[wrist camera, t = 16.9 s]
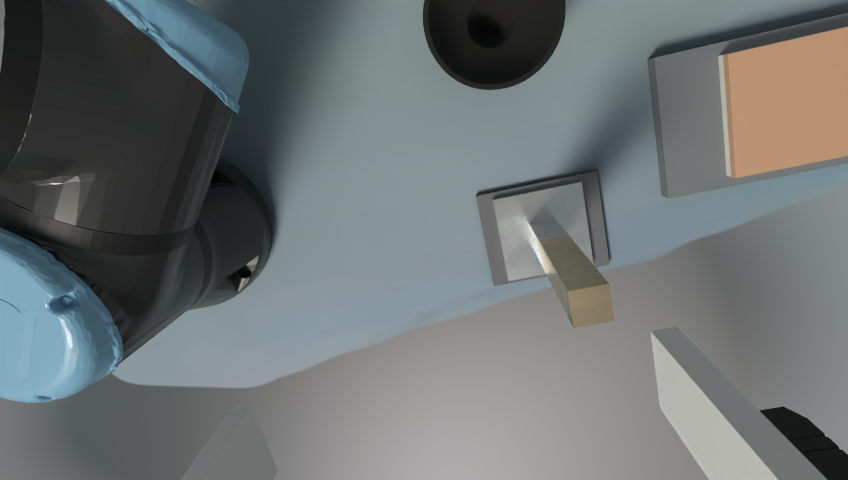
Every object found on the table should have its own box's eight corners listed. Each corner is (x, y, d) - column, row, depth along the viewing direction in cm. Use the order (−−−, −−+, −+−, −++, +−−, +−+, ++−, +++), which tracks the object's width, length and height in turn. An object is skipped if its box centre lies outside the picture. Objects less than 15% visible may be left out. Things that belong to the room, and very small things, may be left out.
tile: (735, 178, 41) (865, 152, 40) (727, 54, 39) (865, 22, 38) (726, 175, 43) (851, 150, 42) (718, 55, 40) (850, 25, 39)
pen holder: (524, -43, 41) (544, -88, 31) (553, 71, 43) (580, 62, 33) (416, -2, 42) (404, -33, 33) (450, 106, 44) (447, 108, 35)
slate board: (661, 195, 45) (668, 198, 44) (647, 59, 42) (654, 57, 41) (851, 157, 43) (864, 159, 42) (850, 12, 40) (865, 8, 39)
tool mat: (493, 283, 49) (494, 285, 48) (475, 195, 46) (476, 196, 46) (608, 262, 47) (609, 264, 47) (595, 170, 45) (596, 171, 44)
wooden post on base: (507, 278, 48) (534, 375, 31) (492, 198, 46) (511, 255, 29) (592, 263, 47) (667, 354, 30) (580, 180, 45) (653, 228, 28)
